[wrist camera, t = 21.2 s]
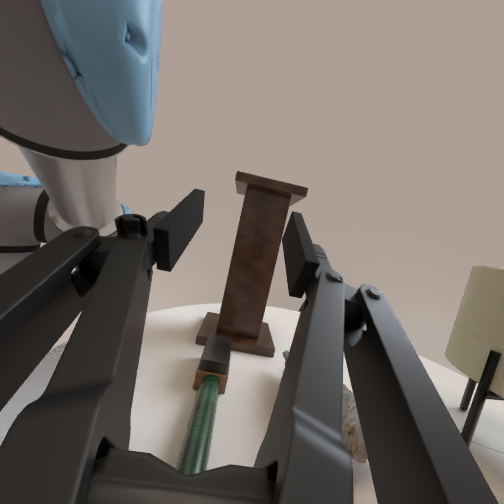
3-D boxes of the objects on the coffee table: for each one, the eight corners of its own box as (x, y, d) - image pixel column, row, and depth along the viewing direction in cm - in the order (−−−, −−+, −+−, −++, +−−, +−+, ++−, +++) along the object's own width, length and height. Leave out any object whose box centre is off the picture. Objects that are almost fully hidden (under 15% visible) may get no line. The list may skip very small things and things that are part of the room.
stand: (195, 343, 33) (230, 169, 30) (206, 317, 43) (233, 185, 40) (273, 357, 34) (314, 189, 31) (266, 329, 43) (296, 200, 41)
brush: (192, 661, 9) (208, 592, 9) (105, 655, 9) (119, 583, 8) (228, 362, 30) (233, 338, 29) (203, 357, 30) (207, 333, 29)
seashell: (302, 352, 32) (317, 320, 28) (362, 468, 21) (401, 443, 17) (267, 359, 30) (278, 326, 26) (313, 492, 19) (344, 470, 15)
